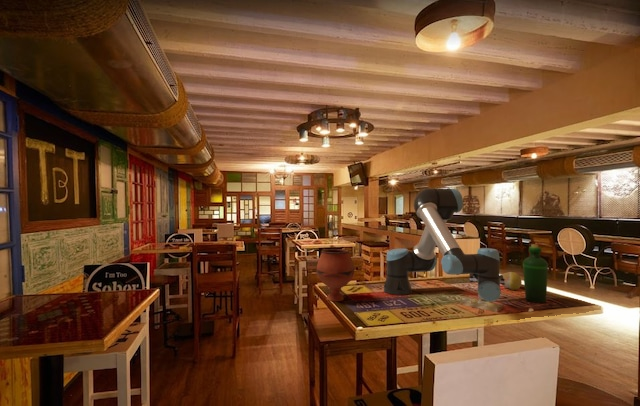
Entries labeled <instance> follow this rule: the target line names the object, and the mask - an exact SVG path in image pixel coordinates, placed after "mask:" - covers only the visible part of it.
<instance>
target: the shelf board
mask: <svg viewBox="0 0 640 406" xmlns="http://www.w3.org/2000/svg"><path fill="white" fill-rule="evenodd" d="M459 299H460V302H459V303H460V305H461V306H465V307H466V306H467V307H470V308H475V309H481V310H484V311H490V312H495V313H498V312H500V311H501V310H502V309H504V304H503V303H499V302H498V303H497V302H494V301H493V302H491V303H490V302H485V301H480V300H479V298H478V299H477V298H472V297H464V296H460V298H459Z"/></svg>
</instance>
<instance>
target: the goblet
mask: <svg viewBox="0 0 640 406" xmlns="http://www.w3.org/2000/svg"><path fill="white" fill-rule="evenodd" d="M354 274H355V265H354V262H353V259H352V257H351V254H350V250H349V249H338V248H330V249H322V250H321V254H320V255H319V258H318V262H317V264H316V275H317V277H318V278H319V280H320V281H321V282H322V283H323V284H324V285H325V286H326V287H328V288H329V291H330V293H328V294H327V296H326V300H327V301H330V302H341V301H344V300H345V299H344V296H343V295H342V293H341V290H342V288H343V287H346V286H347V285H348V284H349V283H350V282H351V281H352V279H353V277H354Z"/></svg>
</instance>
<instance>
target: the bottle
mask: <svg viewBox="0 0 640 406" xmlns="http://www.w3.org/2000/svg"><path fill="white" fill-rule="evenodd" d="M530 245H531V246H529V247H528V252H529V256H528V257H526V258H524V260H523V261H522V269H523V270H522V271H523V284H524V296H525V300H528V301H529V302H533V303H539V304H543V303H546V302H547V291H548V290H547V287H548V270H549V269H548V267H549V263H548V262H547V261H546V260H545V259H544V258H543V257H541V253H542V249H541V247H539V244H538V243H537V244H536V243H535V244H534V243H532V244H530Z"/></svg>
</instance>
